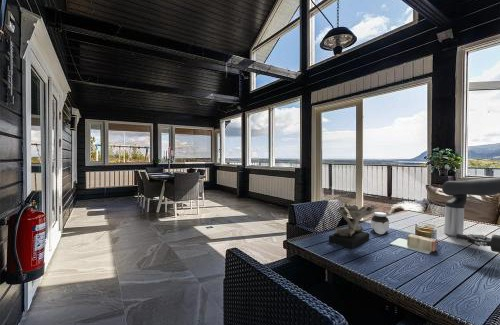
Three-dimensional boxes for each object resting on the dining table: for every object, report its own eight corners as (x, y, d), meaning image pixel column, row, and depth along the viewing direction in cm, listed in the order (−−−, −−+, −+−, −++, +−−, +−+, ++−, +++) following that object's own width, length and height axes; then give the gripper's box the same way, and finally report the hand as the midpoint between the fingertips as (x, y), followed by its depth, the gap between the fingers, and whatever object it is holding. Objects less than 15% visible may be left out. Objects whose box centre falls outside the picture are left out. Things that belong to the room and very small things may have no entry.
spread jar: (382, 229, 172) (383, 211, 171) (395, 234, 160) (395, 215, 160) (366, 229, 169) (366, 212, 169) (377, 235, 158) (378, 216, 158)
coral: (349, 232, 163) (350, 198, 162) (383, 241, 148) (384, 204, 147) (327, 241, 146) (328, 204, 145) (363, 252, 131) (364, 210, 130)
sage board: (398, 238, 152) (399, 237, 152) (435, 247, 139) (435, 246, 139) (389, 244, 143) (389, 243, 143) (428, 254, 130) (428, 253, 130)
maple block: (436, 249, 135) (410, 243, 144) (436, 239, 135) (410, 234, 144) (433, 251, 132) (407, 245, 141) (434, 241, 132) (407, 236, 140)
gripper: (508, 233, 118) (459, 225, 131) (505, 240, 109) (453, 230, 122) (507, 250, 118) (459, 240, 131) (504, 257, 109) (453, 246, 122)
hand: (456, 235), depth 127 cm, fingers closed
